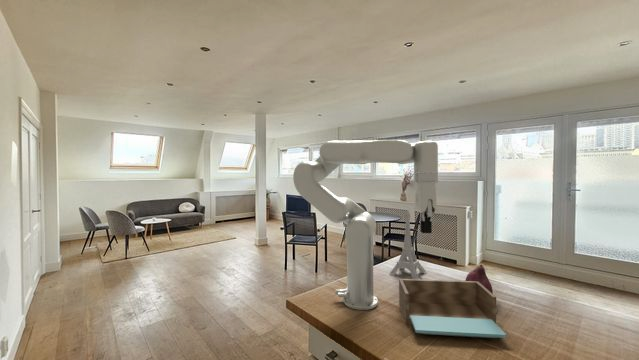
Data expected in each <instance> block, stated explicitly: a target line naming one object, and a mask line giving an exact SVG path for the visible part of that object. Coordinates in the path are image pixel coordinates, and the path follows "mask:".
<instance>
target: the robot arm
mask: <svg viewBox="0 0 639 360" xmlns="http://www.w3.org/2000/svg"><path fill="white" fill-rule="evenodd" d="M372 163H374V164H375V163H378V164H379V163H381V164H383V163H384V164H386V163H387V164H398V165H406V164H413V182H414V183H415V189H414V190H415V191H414V210H415V211H416V212H419V214H420V216H419V217H420V218H419V219H420V232H421V234H432V232H433V231H432V227H433V226H432V225H433V224H432V221H433V219H432V218H433V214H435V213H436V212H437V186H436V184H437V183H439V145H438V143H437V142H436V141H434V140H423V141H417V142H415V143H410V142H408V141H406V140H403V139H377V140H375V139H373V140H329V141H325V142H324V143H322V144H321V145H320V147H319V156H318V158H317V159H315V160H314V161H311V160H306V161H305V160H304V161H301V162H300V163H298V164H297V165H296V166H295V168H294V171H293V174H292V175H293V177H292V178H293V179H292V181H293V184H294V187H295V190H296V191H297V193H298V194H299V195H300V196H301V198H303V199H304V200H306V201H307V202H308V203H309V204H310V205H311V206H313V207H314V208H315V209H316V210H317V211H319V213H321V214H322V215H323V216H324V217H325V218H326V219H328V220H329V221H330V222H331V223H334V224H341V223H344V224H345V225H346V227H345V231H344V232H345V233H344V234H345V242H346V244H345V245H346V267H347V268H346V270H347V273H346V274H347V275H346V276H347V277H346V281H347V282H346V283H347V284H346V288H343V289H340V288H335V290H334V293H335V295H337V297H338V298H342V299H343V300H342V301H343V303H344V305H345V306H347V307H348V308H350V309H354V310H358V311H368V310H372V309H375V308H376V307H377V306H378V305H379V299H378V298H377V296H376V295H374V291H375V289H374V245H373V235H374V233H375V232H376V229H377V222H376V220H375V218H374V217H373V215H372V214H370V213H369V212H368V211H366V210H365V208H363V207H362V206H360V205H359V204H358V203H356V202H355V201H354V200H353V199H351V198H350V197H346V196H338V195H335V193H333V192H332V191H330V190H329V189H328V188H326V187H325V186H323V185H322V184H321V183H320V182H322V181H323V180H325V179H326V178H328V176H329V175H331V174H332V173H333V172H334V171H335V170H336V169H337V168H338V167H339V166H340V165H341V164H342V165H344V164H345V165H347V164H348V165H367V164H372Z"/></svg>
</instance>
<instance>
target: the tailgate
mask: <svg viewBox="0 0 639 360" xmlns="http://www.w3.org/2000/svg"><path fill="white" fill-rule="evenodd" d="M410 319H411V322H412V324H411V325H412V327H413V330H414V332H415V333H417V334H422V335H434V336H435V335H437V336H449V337H451V336H452V337H469V338H470V337H471V338H484V339H485V338H486V339H487V338H488V339H498V338H502V339H503V338H504V339H505V338H506V339H507V334H506V333H505V332H504V331H503V329H502V328H500V326H499V325H498V324H497V322H496V323H495V322H494V321H493V320H492V319H473V318H453V317H432V316H412V315H410Z"/></svg>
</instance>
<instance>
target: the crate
mask: <svg viewBox="0 0 639 360" xmlns="http://www.w3.org/2000/svg"><path fill="white" fill-rule="evenodd" d="M419 279H420V278H419ZM419 279H412V278H411V279H410V278H399V279H398V295H399V296H398V305H399V309H400V311H401V314H402V317H403V319H404V323H405V324H411V325H413V324H412V322H411V319H410V315H412V316H432V317H453V318H473V319H492V320H493V321H494V322H495V323H496V324H497V296H496V295H495V294H492V293H491V292H490V291H489V290H487V289H486V288H485V287H484V286H483V285H482V284H480V283H479V282H478V281H465V280H447V279H446V280H445V279H420V280H419Z"/></svg>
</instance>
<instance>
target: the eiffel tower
mask: <svg viewBox="0 0 639 360" xmlns="http://www.w3.org/2000/svg"><path fill="white" fill-rule="evenodd" d="M404 219H405V230H404V231H405V232H404V241H403V247H402V248H401V249H402V251H401V253H400V256H399V259H398V260H397V261H396V264H395V266H394V267H393V269H392V270H391V271H390V272H389V273H388V276H393V277H394V276H396V275H397V272H398V270H405V269H407V271H409V272H410V274H411V279H419V280H421V279H420V278H419V275H418V271H419V274H422V273H424V274H423V275H426V274H427V273H428V272H427V271H426V269H425V268H424V267H423V266H422V265H421V263H420V259H417V256H416V254H415V251H414V247H413V244H412V243H413V242H412V235H411V224H410V223H411V222H410V219H411V213H410V211H409V210H406V212H405V215H404ZM399 268H400V269H399ZM417 269H418V271H417Z"/></svg>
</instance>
